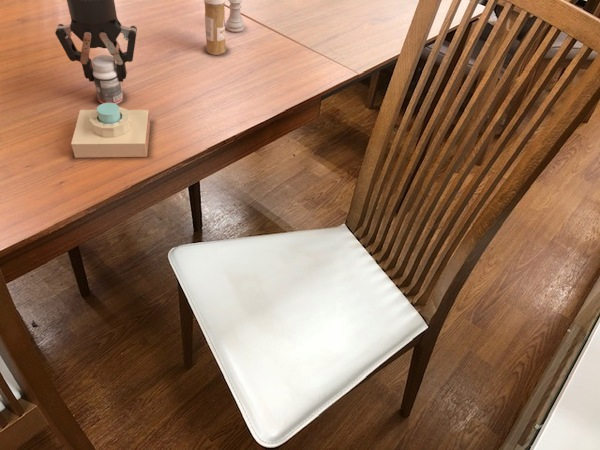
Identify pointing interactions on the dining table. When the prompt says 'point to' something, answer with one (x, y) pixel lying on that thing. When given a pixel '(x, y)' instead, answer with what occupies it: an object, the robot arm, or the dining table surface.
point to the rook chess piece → (235, 17)
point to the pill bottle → (106, 79)
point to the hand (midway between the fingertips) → (106, 79)
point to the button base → (111, 135)
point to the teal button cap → (108, 113)
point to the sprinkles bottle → (215, 26)
